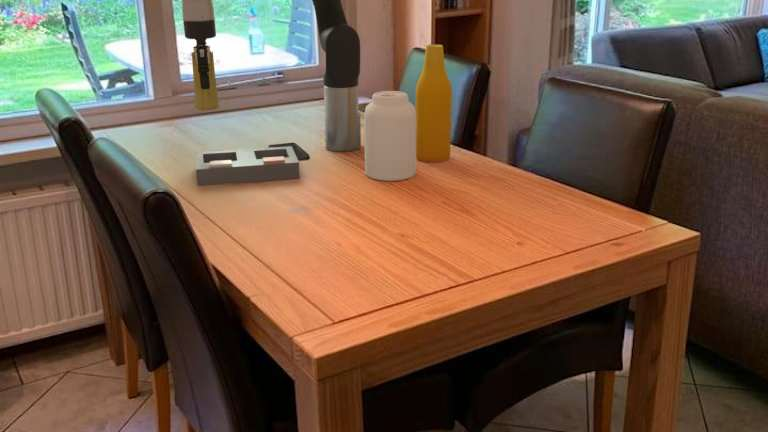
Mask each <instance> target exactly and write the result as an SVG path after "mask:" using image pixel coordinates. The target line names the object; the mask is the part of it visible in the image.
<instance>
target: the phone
mask: <svg viewBox="0 0 768 432" xmlns="http://www.w3.org/2000/svg"><path fill="white" fill-rule="evenodd" d="M288 146H292V148H293V150H294V153H295V155H296V157H297V159H298V161H305V160H309V159H310V158H311V157H310V154H309V153H307V151H306V150H304V149H303V148H302V147H301V146H300V145H299V144H298V143H296V142H285V143H276V144H275V143H274V144H268V147H267V148H272V147H288Z"/></svg>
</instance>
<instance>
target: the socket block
mask: <svg viewBox="0 0 768 432" xmlns="http://www.w3.org/2000/svg"><path fill="white" fill-rule="evenodd" d="M299 161H300V160H298V159H297V157H296V155H295V153H294V150H293V148H292V146H288V147H272V148H268V147H261V148H243V149H232V150H231V149H230V150H229V149H228V150H227V149H226V150H215V151H200V152H199V151H198V152H195V170H196V171H195V172H196V182H197V186H199V187H200V186H201V187H202V186H212V185H216V186H217V185H227V184H229V185H230V184H240V183H242V184H243V183H255V182H267V181H268V182H270V181H280V180H281V181H283V180H294V179H296V180H297V179H301V177H300V175H301V174H300V162H299Z"/></svg>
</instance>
